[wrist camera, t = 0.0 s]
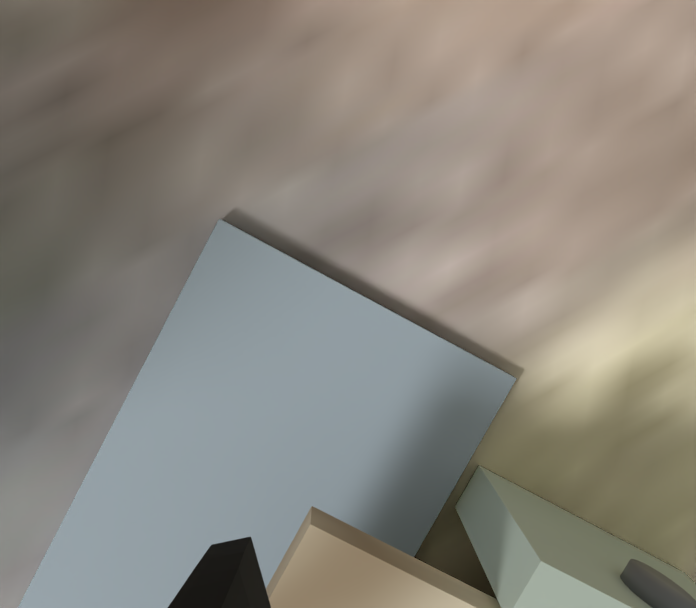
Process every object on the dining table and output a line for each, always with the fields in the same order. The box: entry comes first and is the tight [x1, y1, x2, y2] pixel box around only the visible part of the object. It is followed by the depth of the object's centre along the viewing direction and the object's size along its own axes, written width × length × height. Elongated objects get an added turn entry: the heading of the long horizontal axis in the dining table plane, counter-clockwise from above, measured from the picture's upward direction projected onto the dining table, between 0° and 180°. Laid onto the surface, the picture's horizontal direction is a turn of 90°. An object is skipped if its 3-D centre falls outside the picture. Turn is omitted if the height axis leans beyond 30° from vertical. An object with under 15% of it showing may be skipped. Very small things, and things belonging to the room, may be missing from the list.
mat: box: [18, 219, 516, 608], centre depth 20 cm, size 22×10×1 cm, turn 152°
